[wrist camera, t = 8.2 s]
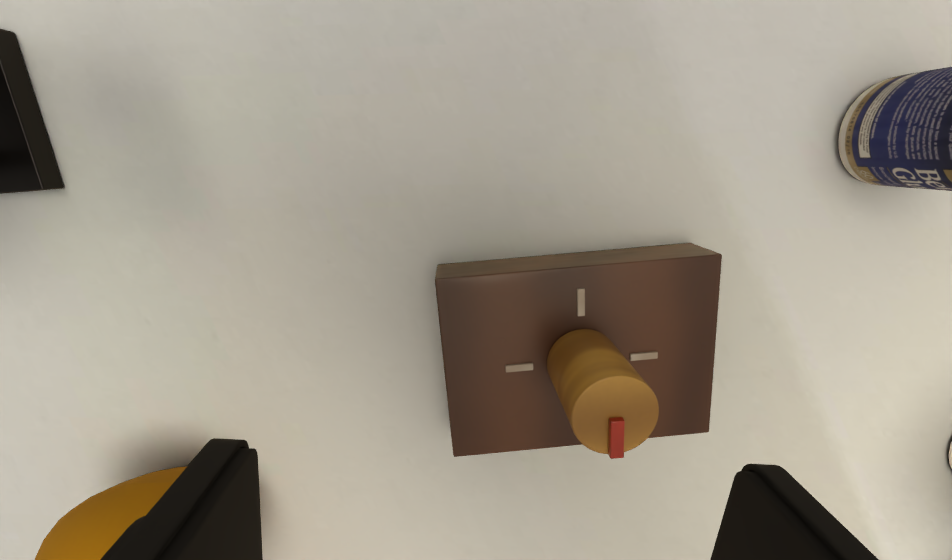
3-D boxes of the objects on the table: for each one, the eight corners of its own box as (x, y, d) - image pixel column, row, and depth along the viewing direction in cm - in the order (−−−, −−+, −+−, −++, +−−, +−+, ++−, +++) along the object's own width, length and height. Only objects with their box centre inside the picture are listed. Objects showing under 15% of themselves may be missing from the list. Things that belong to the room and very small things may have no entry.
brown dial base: (691, 242, 25) (724, 254, 22) (682, 403, 27) (711, 434, 24) (436, 264, 24) (434, 279, 21) (453, 425, 27) (453, 459, 24)
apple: (92, 469, 27) (-77, 616, 18) (213, 409, 26) (96, 532, 17) (181, 568, 29) (68, 740, 20) (295, 515, 28) (226, 670, 20)
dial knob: (545, 331, 22) (573, 383, 17) (617, 325, 22) (665, 376, 17) (547, 395, 23) (573, 462, 18) (615, 390, 23) (660, 455, 18)
